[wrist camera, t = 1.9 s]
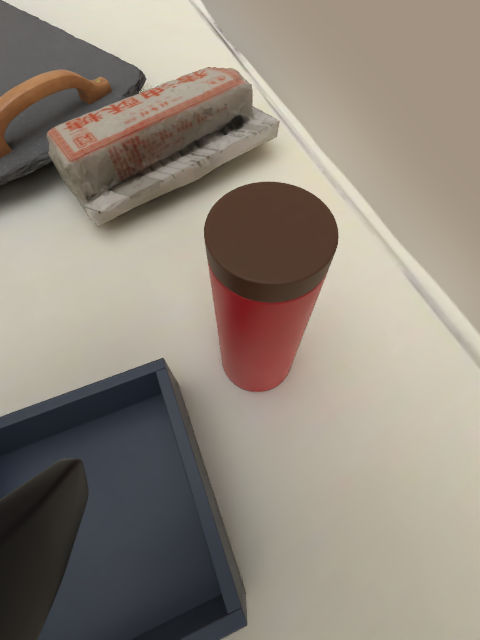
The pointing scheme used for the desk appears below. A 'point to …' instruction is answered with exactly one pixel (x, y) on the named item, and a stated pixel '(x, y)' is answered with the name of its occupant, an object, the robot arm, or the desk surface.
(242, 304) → the candy tube
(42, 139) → the serving tray
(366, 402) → the desk surface
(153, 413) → the desk bin
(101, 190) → the packaged product
